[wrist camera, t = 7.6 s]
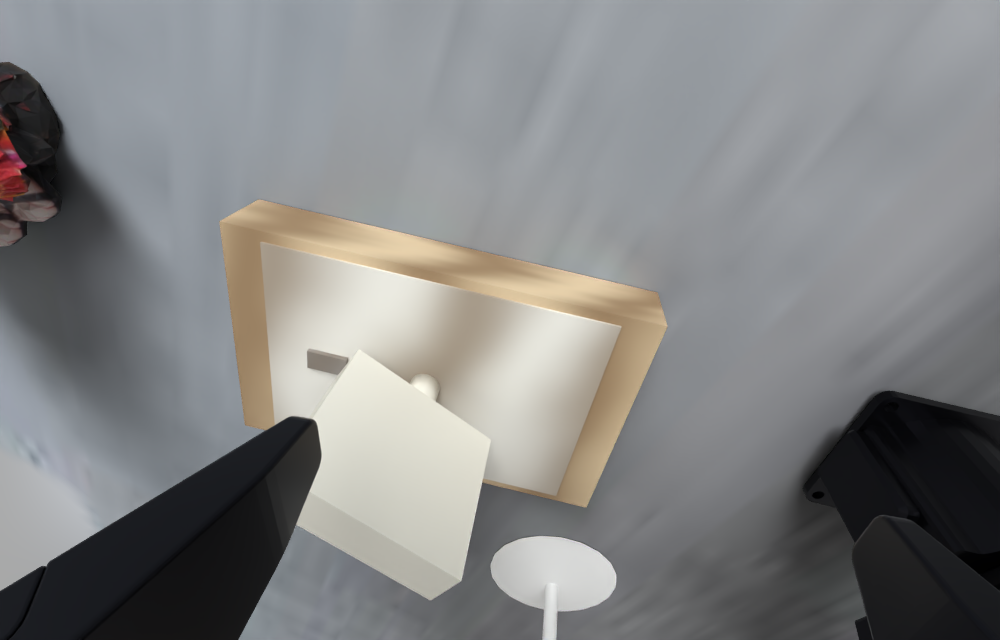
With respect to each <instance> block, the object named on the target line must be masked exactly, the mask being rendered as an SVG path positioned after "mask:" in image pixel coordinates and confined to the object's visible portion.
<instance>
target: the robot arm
mask: <svg viewBox="0 0 1000 640" xmlns="http://www.w3.org/2000/svg"><path fill="white" fill-rule="evenodd" d="M891 402H892V403H891ZM888 403H891V404H889V405H886V404H888ZM321 458H322V452H321V445H320V438H319V432H318V426H317V423H316V421H315V420H314V419H311V418H305V417H299V416H290V417H287V418H286V419H284V420H282V421H281V422H279V423H277V424H276V425H274V426H272V427H271V428H269V429H267V430H266V431H264V432H262V433H261V434H259V435H257V436H256V437H254V438H253V439H251V440H249V441H248V442H246V443H244V444H243V445H241V446H239V447H238V448H236V449H234V450H233V451H231V452H229V453H228V454H226V455H224V456H223V457H221V458H219V459H218V460H216V461H215V462H213V463H211V464H210V465H208V466H206V467H205V468H203V469H201V470H200V471H198V472H196V473H195V474H193V475H191V476H190V477H188V478H186V479H185V480H183V481H182V482H180V483H178V484H177V485H175V486H173V487H172V488H170V489H168V490H167V491H165V492H163V493H162V494H160V495H158V496H157V497H155V498H153V499H152V500H150V501H148V502H147V503H145V504H144V505H142V506H140V507H139V508H137V509H135V510H134V511H132V512H130V513H129V514H127V515H125V516H124V517H122V518H120V519H119V520H117V521H115V522H114V523H112V524H110V525H109V526H107V527H106V528H104V529H102V530H101V531H99V532H97V533H96V534H94V535H92V536H91V537H89V538H87V539H86V540H84V541H82V542H81V543H79V544H78V545H76V546H74V547H73V548H71V549H70V550H68V551H66V552H65V553H63V554H61V555H60V556H58V557H56V558H54V559H53V560H51V561H50V562H49V563H48V564H47V566H41V567H39V568H37V569H36V570H34V571H33V572H31V573H29V574H28V575H26V576H24V577H23V578H21V579H19V580H18V581H16V582H14V583H13V584H11V585H9V586H8V587H6V588H4V589H3V590H1V591H0V640H238V639H239V637H240V635H241V633H242V632H243V630H244V628H245V626H246V624H247V622H248V620H249V618H250V617H251V615H252V613H253V611H254V609H255V607H256V605H257V603H258V602H259V600H260V598H261V596H262V594H263V592H264V590H265V589H266V587H267V585H268V583H269V581H270V579H271V577H272V575H273V574H274V572H275V570H276V568H277V566H278V564H279V562H280V560H281V558H282V556H283V554H284V552H285V550H286V547H287V545H288V543H289V540H290V538H291V536H292V533H293V531H294V528H295V526H296V523H297V521H298V518H299V516H300V514H301V511H302V509H303V506H304V504H305V501H306V499H307V496H308V494H309V491H310V489H311V487H312V484H313V482H314V479H315V477H316V474H317V472H318V469H319V467H320V463H321ZM803 492H804V494H805V496H806V498H807V499H808V500H809V501H811V502H815V503H819V504H823V505H827V506H831V507H836V508H837V510H838V512H839V514H840V515H841V517H842V519H843V521H844V523H845V525H846V527H847V529H848V531H849V532H850V534H851V536H852V538H853V540H854V542H855V544H854V546H853V549H852V562H853V566H854V570H855V574H856V578H857V581H858V585H859V589H860V593H861V597H862V600H863V604H864V608H865V612H866V617H863V618H861V619H858V620H856V621H855V624H856V628H857V632H858V636H859V640H1000V416H997V415H993V414H988V413H984V412H980V411H976V410H971V409H967V408H963V407H959V406H954V405H950V404H946V403H942V402H937V401H933V400H929V399H925V398H920V397H916V396H912V395H908V394H903V393H899V392H895V391H885V392H882V393H880V394H878V395H876V396H875V397H874V398H873V400H872V401H871V402H870V403H869V405H868V406H867V407H866V408H865V410H864V411H863V412H862V413H861V415H860V416H859V417H858V418H857V420H856V421H855V422H854V423H853V425H852V426H851V427H850V428H849V430H848V431H847V432H846V434H845V435H844V436H843V437H842V439H841V440H840V441H839V442H838V444H837V445H836V446H835V447H834V449H833V450H832V451H831V452H830V454H829V455H828V456H827V457H826V459H825V460H824V461H823V462H822V464H821V465H820V466H819V467H818V469H817V470H816V471H815V472H814V474H813V475H812V476H811V477H810V479H809V480H808V481H807V483H806V484H805V485H804V487H803Z"/></svg>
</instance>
